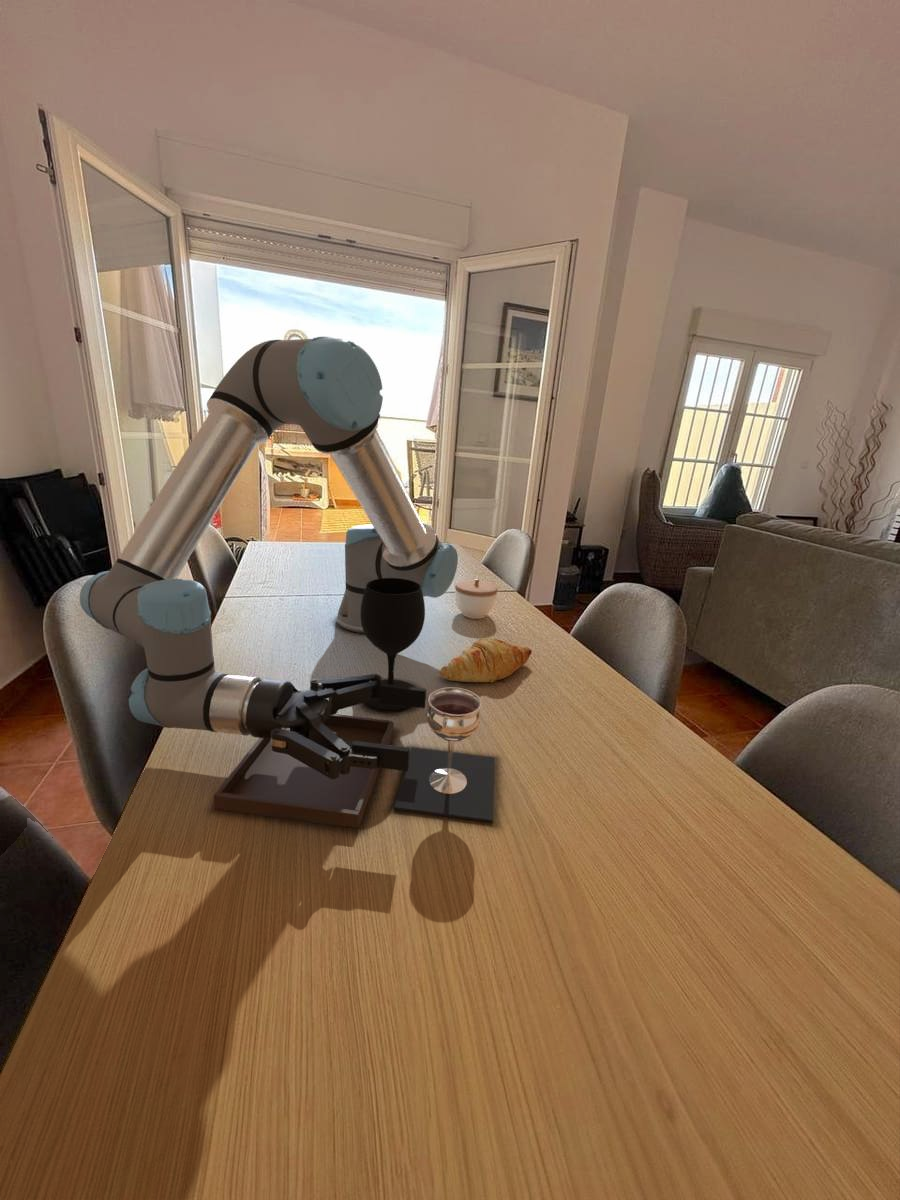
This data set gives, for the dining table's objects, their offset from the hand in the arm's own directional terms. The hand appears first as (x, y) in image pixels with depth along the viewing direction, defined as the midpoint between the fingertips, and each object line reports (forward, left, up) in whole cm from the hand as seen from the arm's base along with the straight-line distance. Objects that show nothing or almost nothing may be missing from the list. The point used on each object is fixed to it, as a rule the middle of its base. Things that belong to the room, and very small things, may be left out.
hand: (418, 725), depth 61 cm
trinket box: (-64, +4, -8) cm, 65 cm away
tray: (0, -14, -8) cm, 16 cm away
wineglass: (0, +4, -8) cm, 9 cm away
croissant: (-33, +8, -8) cm, 35 cm away
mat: (0, +4, -8) cm, 9 cm away
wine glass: (-20, -8, -8) cm, 23 cm away
